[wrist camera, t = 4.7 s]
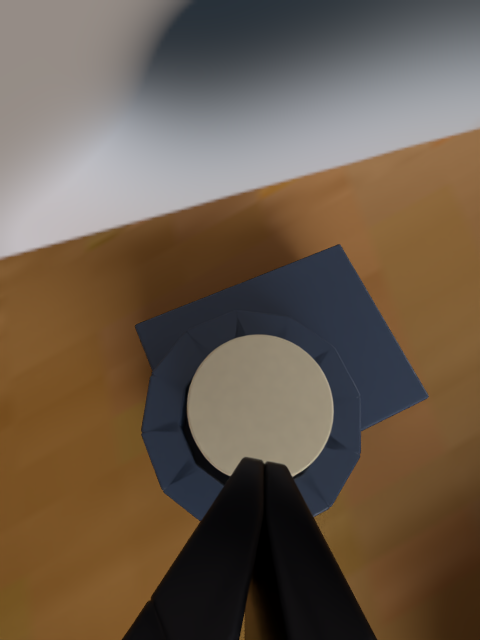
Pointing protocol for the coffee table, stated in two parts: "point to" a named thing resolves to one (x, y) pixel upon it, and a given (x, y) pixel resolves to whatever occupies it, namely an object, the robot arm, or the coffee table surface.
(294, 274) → the button base
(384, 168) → the coffee table surface
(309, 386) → the disc
